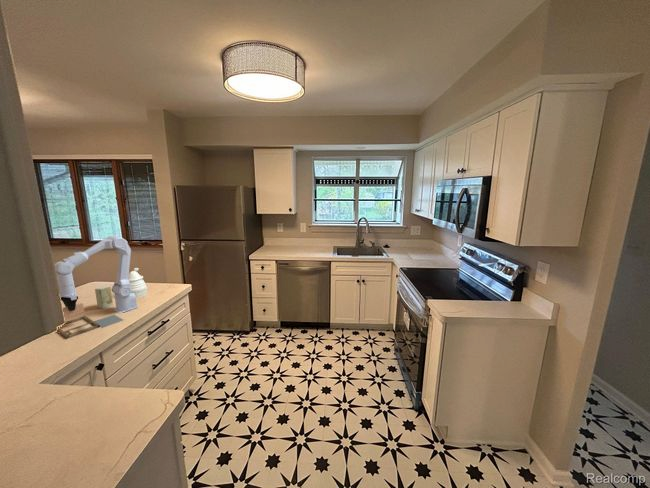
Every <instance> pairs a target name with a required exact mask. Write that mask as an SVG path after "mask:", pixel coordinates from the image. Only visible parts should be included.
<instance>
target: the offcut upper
mask: <svg viewBox="0 0 650 488" xmlns="http://www.w3.org/2000/svg"><path fill="white" fill-rule="evenodd" d="M91 327H94V325H90V324H88V325H85V326H82V327H79V328H76V329H73V330H70V331H69V333H68V334H69V335H71V334H73V333H76V332H79V331H82V330H85V329H88V328H91Z"/></svg>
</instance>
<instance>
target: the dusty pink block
mask: <svg viewBox="0 0 650 488" xmlns="http://www.w3.org/2000/svg"><path fill="white" fill-rule="evenodd" d="M62 308H63V312H64V318H67V317H70V316H73V315H77V314H81V313H84V312H85V307H84V303H83V302H79V303H76V307H75V310H73V311H69V310H68V307H62Z"/></svg>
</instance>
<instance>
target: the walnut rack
mask: <svg viewBox="0 0 650 488" xmlns="http://www.w3.org/2000/svg"><path fill="white" fill-rule="evenodd" d="M83 320H85V322H87V323H84V324H82V325H81V324H80V325H79V326H76V327H73V328H69V329H67V330H66V329H65V330H64V331H63V330H62V329H61V328H60V327H58V330H57V331H56V332H57V333H59V332H60V333H59V334H60V335H61V336H62V337H63V338H65V339H66V340H68V339H70V338H73V337H77V336H79V335H82V334H85V333H89V332H91V331H93V330H96V329H99V328H101V327H100V325H99V324H97V323H96V322H94V321H95V320H92V319H91V318H90V317H88V316H86V315H82V316H81V317H78V318H74V319H70V320H68V321H65V322H66V323H65V324H64V325H63V326H67V325H69V324H72V323H75V322H78V321H83ZM88 324H90V325H92V326H93V327H91V328H88V329H85V330H82V331H79V332H76V333H73V334H70V333H69V331H70V330H73V329H76V328H79V327H82V326H85V325H88Z"/></svg>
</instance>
